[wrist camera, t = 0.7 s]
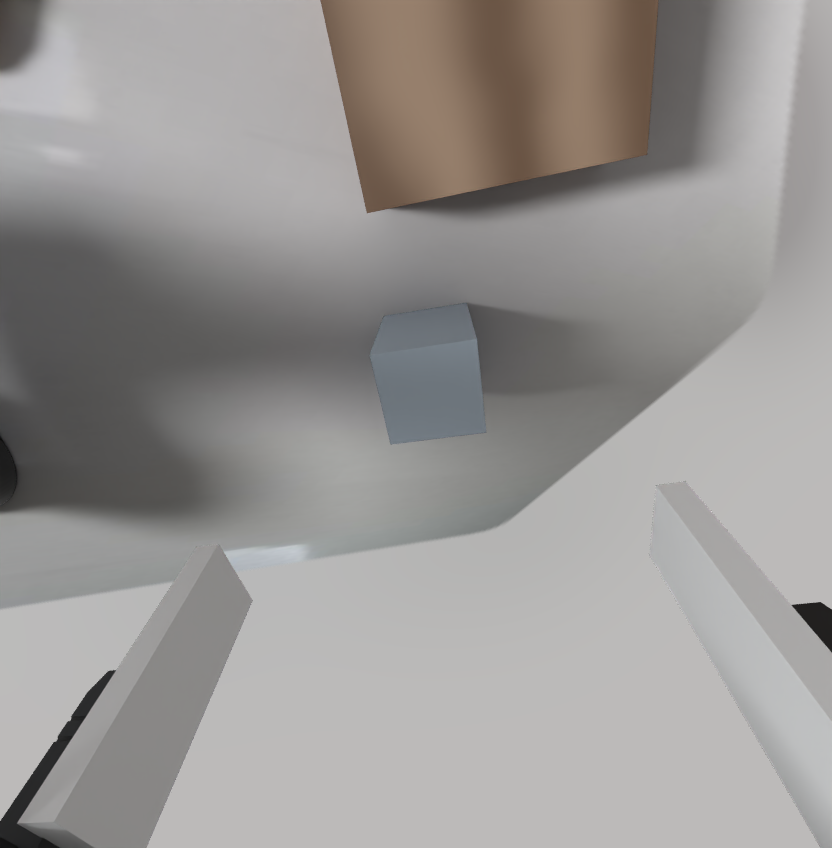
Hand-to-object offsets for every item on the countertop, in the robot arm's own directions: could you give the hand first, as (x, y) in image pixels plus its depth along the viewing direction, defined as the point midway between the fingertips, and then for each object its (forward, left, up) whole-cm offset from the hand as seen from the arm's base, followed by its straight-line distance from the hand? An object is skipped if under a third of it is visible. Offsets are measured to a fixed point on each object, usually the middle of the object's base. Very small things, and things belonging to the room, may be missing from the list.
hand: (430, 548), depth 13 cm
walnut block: (+5, +16, -21) cm, 27 cm away
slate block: (0, -1, -21) cm, 21 cm away
